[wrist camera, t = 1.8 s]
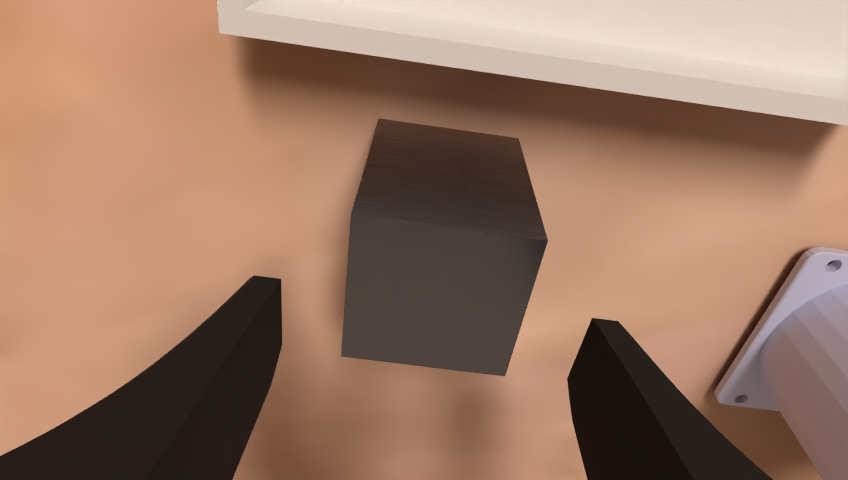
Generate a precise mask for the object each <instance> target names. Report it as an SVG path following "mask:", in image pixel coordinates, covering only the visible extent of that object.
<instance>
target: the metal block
mask: <svg viewBox="0 0 848 480" xmlns="http://www.w3.org/2000/svg"><path fill="white" fill-rule="evenodd" d="M547 242H548V240H547V236H546V233H545V229H544V226H543V222H542V219H541V215H540V212H539V208H538V205H537V201H536V198H535V194H534V191H533V187H532V184H531V180H530V177H529V173H528V170H527V166H526V163H525V159H524V156H523V152H522V149H521V146H520V142H519V139H518V138H512V137H505V136H497V135H490V134H483V133H476V132H469V131H462V130H455V129H448V128H441V127H434V126H427V125H420V124H413V123H406V122H399V121H392V120H385V119H379V121H378V124H377V127H376V131H375V134H374V138H373V141H372V145H371V148H370V151H369V155H368V158H367V162H366V165H365V168H364V172H363V175H362V179H361V182H360V186H359V189H358V192H357V196H356V199H355V203H354V206H353V210H352V213H351V223H350V237H349V251H348V266H347V280H346V294H345V309H344V323H343V338H342V352H341V356H343V357H351V358H359V359H367V360H376V361H384V362H392V363H400V364H409V365H417V366H425V367H433V368H441V369H450V370H458V371H466V372H474V373H482V374H491V375H499V376H505V375H506V372H507V368H508V365H509V362H510V359H511V356H512V353H513V349H514V346H515V343H516V340H517V337H518V334H519V330H520V327H521V324H522V321H523V318H524V315H525V311H526V308H527V305H528V302H529V299H530V296H531V292H532V289H533V286H534V283H535V280H536V277H537V273H538V270H539V267H540V264H541V261H542V258H543V254H544V251H545V248H546V245H547Z"/></svg>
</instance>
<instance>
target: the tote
mask: <svg viewBox="0 0 848 480" xmlns="http://www.w3.org/2000/svg"><path fill="white" fill-rule="evenodd" d="M217 8H218V21H219V33H223V34H229V35H236V36H243V37H250V38H257V39H263V40H270V41H277V42H284V43H290V44H297V45H304V46H311V47H318V48H324V49H331V50H338V51H345V52H352V53H358V54H365V55H372V56H379V57H385V58H392V59H399V60H406V61H413V62H419V63H426V64H433V65H440V66H447V67H453V68H460V69H467V70H474V71H480V72H487V73H494V74H501V75H508V76H514V77H521V78H528V79H535V80H542V81H548V82H555V83H562V84H569V85H575V86H582V87H589V88H596V89H603V90H609V91H616V92H623V93H630V94H637V95H643V96H650V97H657V98H664V99H670V100H677V101H684V102H691V103H698V104H704V105H711V106H718V107H725V108H732V109H738V110H745V111H752V112H759V113H765V114H772V115H779V116H786V117H793V118H799V119H806V120H813V121H820V122H827V123H833V124H840V125H847V126H848V0H217Z"/></svg>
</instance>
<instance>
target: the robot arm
mask: <svg viewBox="0 0 848 480" xmlns="http://www.w3.org/2000/svg"><path fill="white" fill-rule="evenodd" d="M833 260H834V261H833ZM831 261H833V262H832V263H831V264H829V265H827V264H828V263H829V262H831ZM281 347H282V310H281V279H277V278H269V277H261V276H253V277H251V278H250V279H249V280H248V281H247V282H246V283H245V284H244V285H243V286H242V287H241V288H240V289H239V290H238V291H237V292H235V293H234V294H233V295H232V296H231V297H230V298H229V299H228V300H227V301H226V302H225V303H224V304H223V305H222V306H221V307H220V308H219V309H218V310H217V311H216V312H215V313H213V314H212V315H211V316H210V317H209V318H208V319H207V320H206V321H204V322H203V323H202V324H201V325H200V326H199V327H198V328H197V329H195V330H194V331H193V332H192V333H191V334H190V335H189V336H187V337H186V338H185V339H184V340H183V341H181V342H180V343H179V344H178V345H176V346H175V347H174V348H173V349H172V350H170V351H169V352H168V353H167V354H165V355H164V356H163V357H162V358H160V359H159V360H158V361H157V362H155V363H154V364H153V365H151V366H150V367H149V368H147V369H146V370H145V371H143V372H142V373H140V374H139V375H138V376H136V377H135V378H133V379H132V380H131V381H129V382H128V383H126V384H125V385H123V386H122V387H120V388H119V389H117V390H116V391H115V392H113V393H112V394H110V395H108V396H107V397H105V398H104V399H102V400H100V401H99V402H97V403H96V404H94V405H92V406H91V407H89V408H88V409H86V410H84V411H83V412H81V413H79V414H78V415H76V416H74V417H73V418H71V419H69V420H67V421H66V422H64V423H62V424H61V425H59V426H57V427H55V428H54V429H52V430H50V431H48V432H46V433H44V434H42V435H41V436H39V437H37V438H35V439H33V440H31V441H29V442H27V443H25V444H24V445H22V446H20V447H18V448H16V449H14V450H12V451H10V452H8V453H6V454H4V455H2V456H0V480H232V479H233V477H234V474H235V471H236V469H237V466H238V464H239V462H240V459H241V457H242V454H243V452H244V450H245V447H246V445H247V442H248V440H249V437H250V435H251V433H252V430H253V428H254V425H255V423H256V420H257V418H258V416H259V413H260V411H261V408H262V406H263V403H264V401H265V398H266V396H267V393H268V391H269V388H270V386H271V383H272V379H273V376H274V372H275V369H276V365H277V362H278V358H279V354H280V350H281ZM567 380H568V389H569V398H570V406H571V414H572V420H573V424H574V429H575V433H576V436H577V440H578V444H579V448H580V452H581V456H582V460H583V464H584V468H585V471H586V475H587V479H588V480H773V479H771V478H770V477H769V476H768V475H767V474H765V473H764V472H763V471H762V470H761V469H760V468H758V467H757V466H756V465H755V464H754V463H753V462H752V461H751V460H749V459H748V458H747V457H746V456H745V455H744V454H743V453H742V452H740V451H739V450H738V449H737V448H736V447H735V446H734V445H733V444H732V443H731V442H729V441H728V440H727V439H726V438H725V437H724V436H723V435H722V434H721V433H720V432H719V431H718V430H717V429H716V428H715V427H714V426H713V425H712V424H711V423H710V422H709V421H708V420H707V419H706V418H705V417H704V416H703V415H702V414H701V413H700V412H699V411H698V410H697V409H696V408H695V407H694V406H693V405H692V404H691V403H690V402H689V401H688V399H687V398H686V397H685V396H684V395H683V394H682V393H681V392H680V391H679V390H678V389H677V388H676V387H675V385H674V384H673V383H672V382H671V381H670V380H669V379H668V378H667V377H666V375H665V374H664V373H663V372H662V371H661V370H660V369H659V367H658V366H657V365H656V364H655V363H654V362H653V361H652V359H651V358H650V357H649V356H648V355H647V354H646V352H645V351H644V350H643V349H642V348H641V347H640V346H639V344H638V343H637V342H636V341H635V340H634V339H633V337H632V336H631V335H630V334H629V333H628V332H627V331H626V329H625V328H624V327H623V326H622V325H621V324H620V323H619V322H618V321H612V320H604V319H596V318H592V320H591V322H590V325H589V327H588V330H587V332H586V335H585V337H584V339H583V342H582V344H581V347H580V349H579V352H578V354H577V356H576V359H575V361H574V364H573V366H572V369H571V371H570V373H569V376H568V378H567ZM714 395H715V397H716V399H717V401H718V402H719V403H720V404H724V405H731V406H739V407H747V408H755V409H763V410H772V411H780V413H781V415H782V416H783V418H784V419H785V421H786V422H787V424H788V426H789V427H790V429H791V430H792V432H793V433H794V435H795V437H796V438H797V440H798V441H799V443H800V445H801V446H802V448H803V449H804V451H805V452H806V454H807V456H808V457H809V459H810V460H811V462H812V463H813V465H814V467H815V468H816V470H817V471H818V473H819V474H820V476H821V478H822V479H823V480H848V250H840V249H833V248H826V247H815V248H812V249H809V250H807V251H806V252H804V253H803V255H802V256H801V257H800V258H799V260H798V261H797V263H796V265H795V266H794V268H793V269H792V271H791V272H790V274H789V275H788V277H787V279H786V280H785V282H784V283H783V285H782V286H781V288H780V289H779V291H778V293H777V294H776V296H775V297H774V299H773V300H772V302H771V303H770V305H769V307H768V308H767V310H766V311H765V313H764V314H763V316H762V318H761V319H760V321H759V322H758V324H757V325H756V327H755V328H754V330H753V332H752V333H751V335H750V336H749V338H748V339H747V341H746V342H745V344H744V346H743V347H742V349H741V350H740V352H739V353H738V355H737V356H736V358H735V360H734V361H733V363H732V364H731V366H730V367H729V369H728V370H727V372H726V374H725V375H724V377H723V378H722V380H721V381H720V383H719V384H718V386H717V388H716V389H715V391H714Z"/></svg>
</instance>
